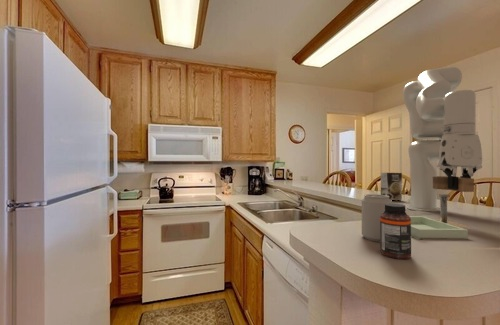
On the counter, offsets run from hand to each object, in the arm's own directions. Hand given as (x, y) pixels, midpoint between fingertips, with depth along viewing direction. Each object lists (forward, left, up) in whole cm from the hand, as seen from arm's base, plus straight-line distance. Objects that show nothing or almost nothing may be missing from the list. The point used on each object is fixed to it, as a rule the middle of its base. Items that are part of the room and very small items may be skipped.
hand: (459, 188), depth 75 cm
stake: (-6, 0, -13) cm, 14 cm away
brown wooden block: (-3, 0, -1) cm, 3 cm away
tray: (+3, -14, -13) cm, 19 cm away
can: (+10, -31, -13) cm, 35 cm away
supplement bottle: (+22, -33, -13) cm, 42 cm away
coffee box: (-63, +15, -13) cm, 66 cm away
